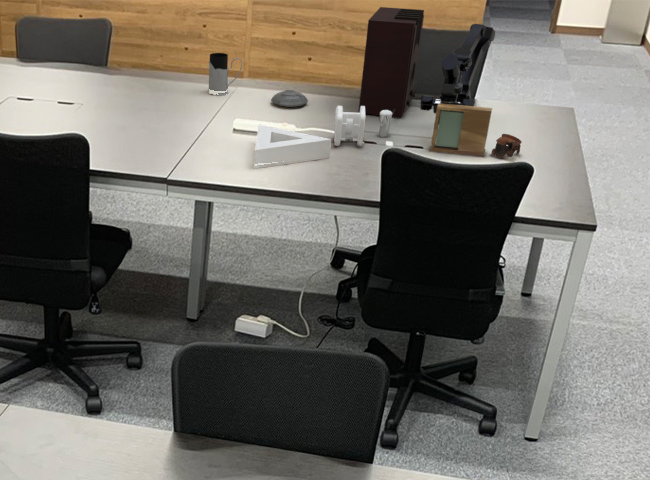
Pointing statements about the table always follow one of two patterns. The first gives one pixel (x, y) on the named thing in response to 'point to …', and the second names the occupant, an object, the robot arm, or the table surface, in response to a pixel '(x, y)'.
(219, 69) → the glass holder
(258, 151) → the triangle block
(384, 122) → the milkshake
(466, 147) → the door frame
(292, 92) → the flying saucer
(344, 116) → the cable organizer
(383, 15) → the radio
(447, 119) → the door
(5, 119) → the table surface
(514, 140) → the brown miniature stool
